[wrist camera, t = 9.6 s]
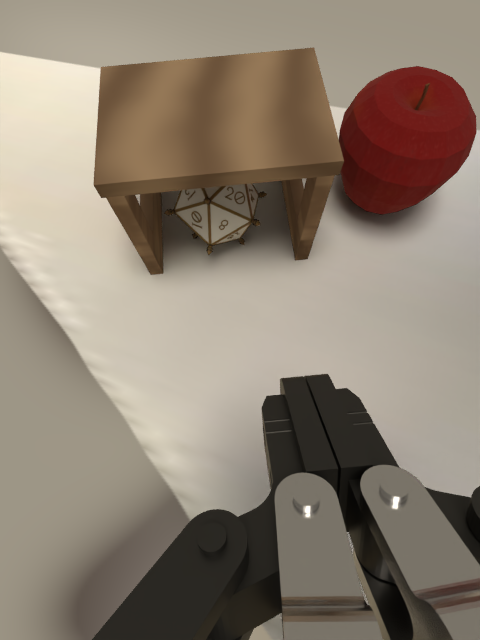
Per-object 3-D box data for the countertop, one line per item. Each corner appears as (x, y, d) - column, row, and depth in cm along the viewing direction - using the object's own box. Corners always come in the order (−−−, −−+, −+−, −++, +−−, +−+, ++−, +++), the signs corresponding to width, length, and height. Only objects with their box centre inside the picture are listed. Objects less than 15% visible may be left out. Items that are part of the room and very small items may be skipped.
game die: (236, 237, 38) (293, 168, 31) (222, 289, 33) (288, 218, 26) (166, 191, 35) (212, 104, 28) (137, 239, 30) (186, 145, 23)
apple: (419, 249, 33) (505, 153, 22) (313, 224, 34) (343, 121, 23) (431, 164, 36) (510, 45, 25) (334, 144, 38) (369, 23, 27)
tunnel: (293, 170, 37) (313, 47, 25) (310, 258, 33) (344, 160, 21) (147, 184, 36) (100, 67, 25) (147, 274, 33) (93, 184, 21)
